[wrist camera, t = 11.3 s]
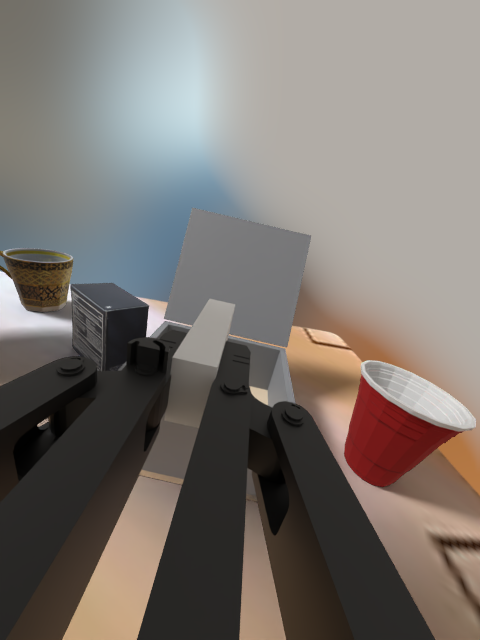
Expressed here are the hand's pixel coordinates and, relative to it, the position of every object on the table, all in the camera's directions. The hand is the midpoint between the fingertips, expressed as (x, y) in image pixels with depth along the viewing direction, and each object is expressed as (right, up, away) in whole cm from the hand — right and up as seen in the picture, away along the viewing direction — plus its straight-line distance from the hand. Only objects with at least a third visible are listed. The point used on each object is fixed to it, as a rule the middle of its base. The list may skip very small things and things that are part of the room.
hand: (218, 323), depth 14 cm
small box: (-19, -6, +24) cm, 31 cm away
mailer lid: (+1, +7, +22) cm, 23 cm away
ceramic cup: (-39, +3, +34) cm, 52 cm away
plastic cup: (+17, -18, +16) cm, 29 cm away
